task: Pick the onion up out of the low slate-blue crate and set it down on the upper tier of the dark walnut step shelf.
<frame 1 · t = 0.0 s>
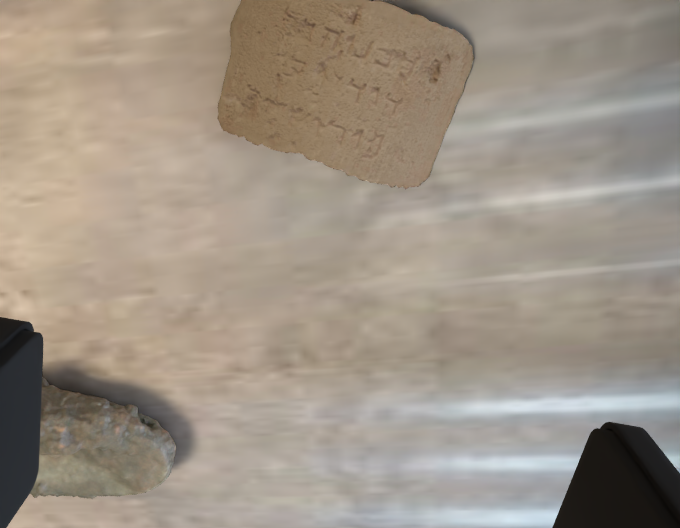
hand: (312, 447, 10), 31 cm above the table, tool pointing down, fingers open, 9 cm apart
clay tablet: (343, 84, 38), on the table
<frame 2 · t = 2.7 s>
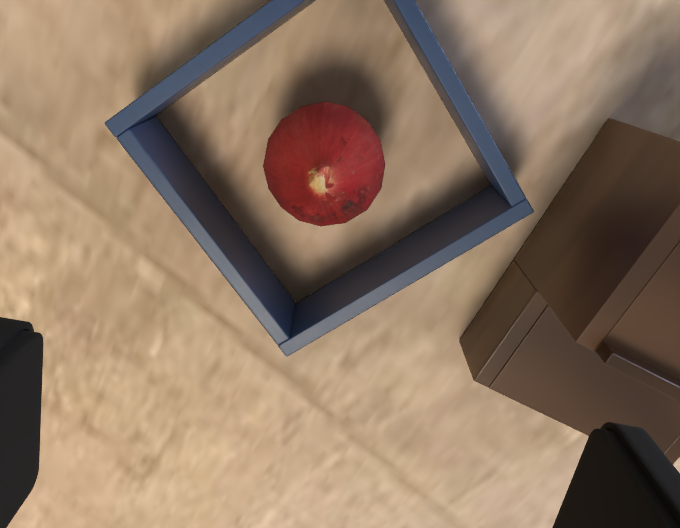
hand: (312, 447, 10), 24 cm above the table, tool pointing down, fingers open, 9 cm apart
crate: (326, 150, 33), on the table
onion: (326, 150, 33), resting in crate
step shelf: (621, 286, 36), on the table
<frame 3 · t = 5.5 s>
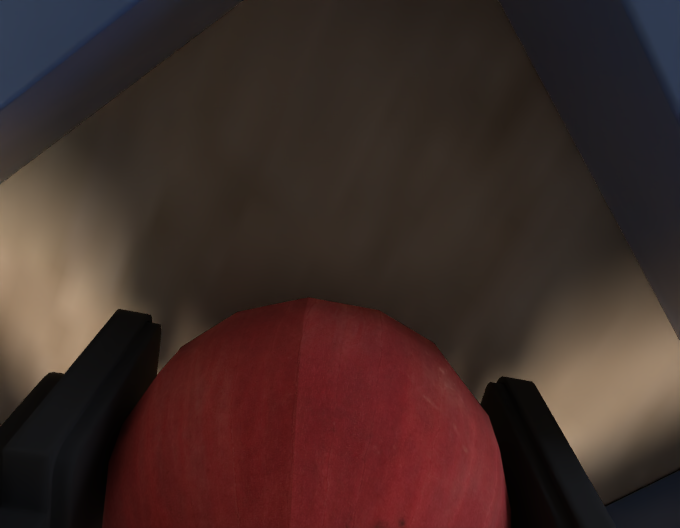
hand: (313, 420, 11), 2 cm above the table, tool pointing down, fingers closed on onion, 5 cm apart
crate: (317, 371, 13), on the table
onion: (317, 366, 13), resting in crate, touching gripper
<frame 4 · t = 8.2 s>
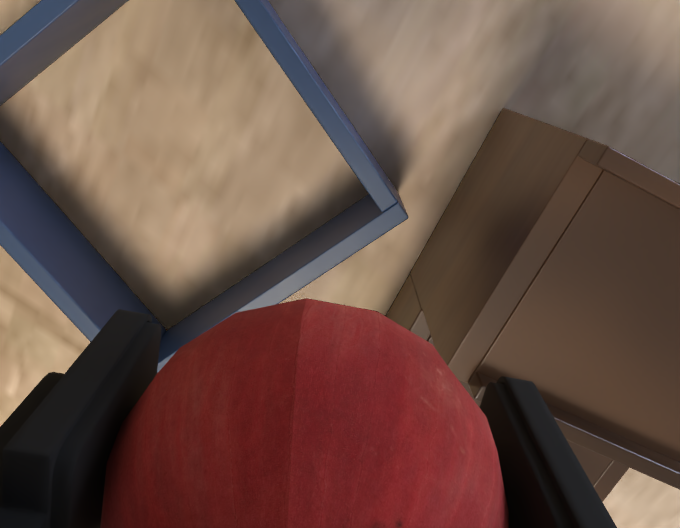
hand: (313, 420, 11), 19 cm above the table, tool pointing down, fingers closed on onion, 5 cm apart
crate: (183, 155, 29), on the table
onion: (316, 366, 13), point 17 cm above the table, touching gripper
step shelf: (535, 300, 31), on the table
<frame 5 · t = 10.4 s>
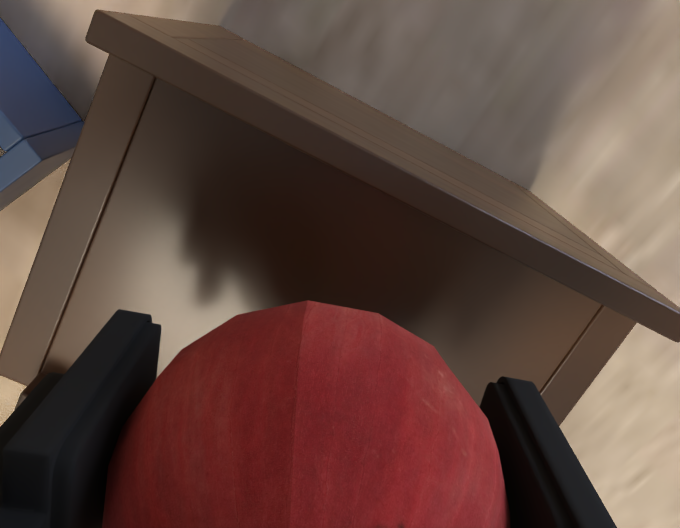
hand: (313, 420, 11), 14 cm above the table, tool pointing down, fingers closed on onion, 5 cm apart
onion: (317, 368, 13), point 12 cm above the table, touching gripper
step shelf: (293, 281, 25), on the table
when the fingers open (12 cm above the table, at t = 11.4 s): onion stays where it is, resting on step shelf.
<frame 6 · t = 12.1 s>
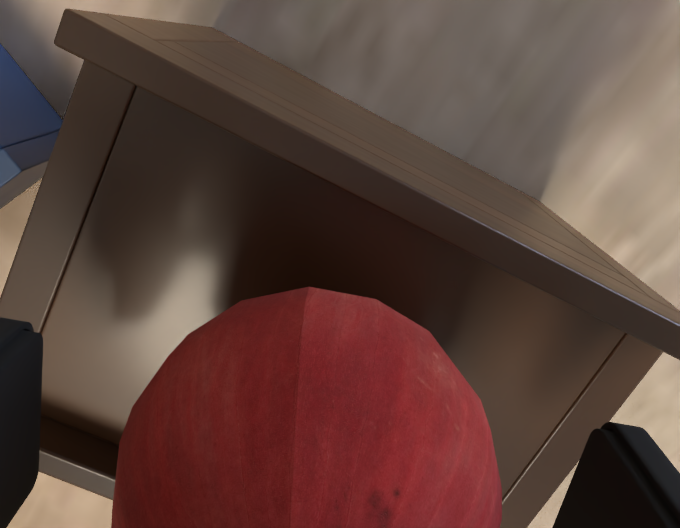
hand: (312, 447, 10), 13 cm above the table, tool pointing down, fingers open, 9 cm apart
onion: (318, 357, 13), point 10 cm above the table, touching step shelf
step shelf: (290, 296, 23), on the table
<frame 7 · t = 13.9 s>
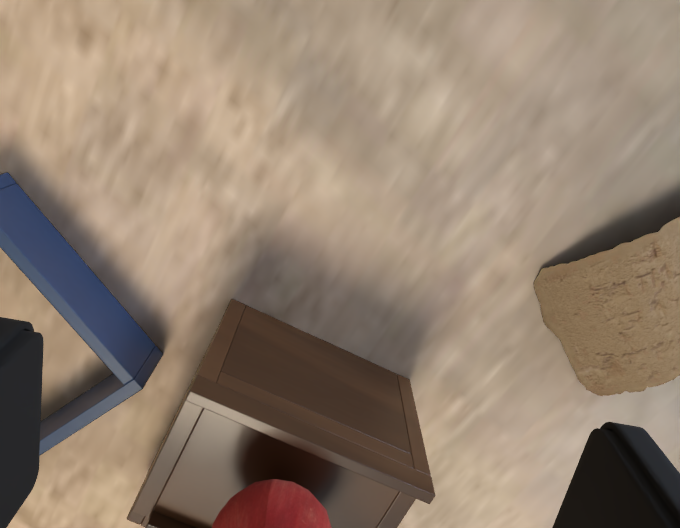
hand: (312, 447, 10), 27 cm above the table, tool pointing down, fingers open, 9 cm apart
crate: (4, 327, 40), on the table
clay tablet: (661, 286, 39), on the table
onion: (280, 490, 32), point 10 cm above the table, touching step shelf
step shelf: (274, 428, 42), on the table
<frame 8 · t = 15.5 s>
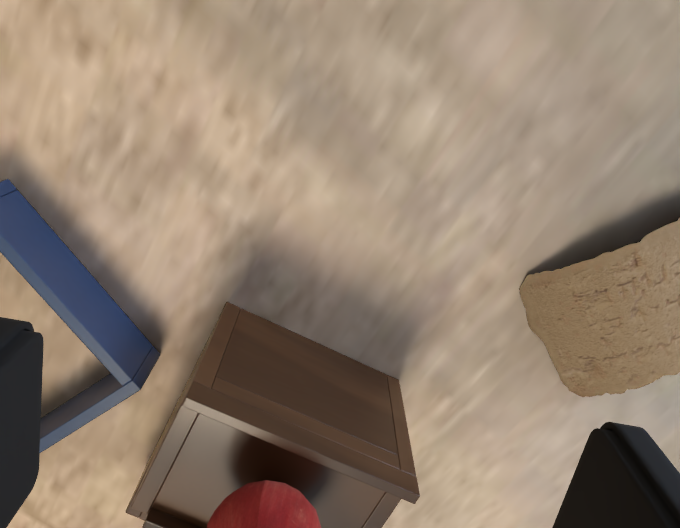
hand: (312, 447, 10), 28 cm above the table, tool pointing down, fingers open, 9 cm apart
crate: (6, 327, 41), on the table
clay tablet: (642, 292, 40), on the table
onion: (272, 489, 33), point 10 cm above the table, touching step shelf
step shelf: (268, 425, 43), on the table
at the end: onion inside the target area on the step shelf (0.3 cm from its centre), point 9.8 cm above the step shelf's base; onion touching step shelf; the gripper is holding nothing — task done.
